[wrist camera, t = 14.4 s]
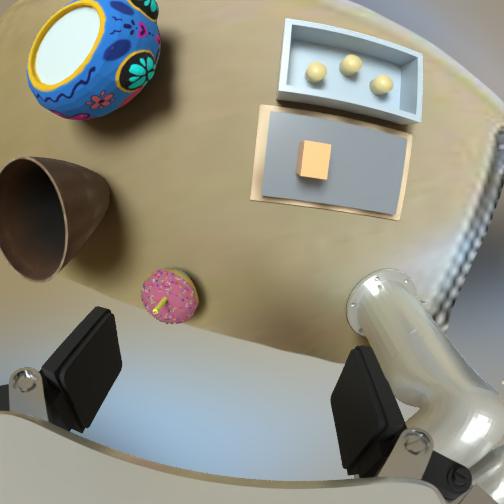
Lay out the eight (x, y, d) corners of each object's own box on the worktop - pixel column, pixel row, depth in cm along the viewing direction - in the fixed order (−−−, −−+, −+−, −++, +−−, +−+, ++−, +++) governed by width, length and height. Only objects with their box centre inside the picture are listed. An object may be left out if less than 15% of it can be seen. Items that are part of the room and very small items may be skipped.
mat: (411, 134, 34) (412, 134, 33) (398, 219, 38) (399, 220, 38) (260, 104, 34) (260, 104, 33) (250, 199, 38) (250, 199, 38)
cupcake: (155, 251, 42) (120, 287, 30) (208, 265, 42) (189, 307, 31) (150, 299, 45) (121, 342, 33) (199, 312, 45) (182, 361, 34)
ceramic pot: (177, 112, 34) (129, 94, 20) (74, 132, 35) (7, 135, 21) (179, 8, 28) (143, -42, 14) (79, 37, 29) (22, 14, 15)
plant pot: (55, 228, 41) (-7, 262, 26) (64, 143, 36) (-8, 151, 21) (124, 251, 42) (68, 300, 27) (139, 156, 37) (73, 166, 22)
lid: (402, 138, 34) (425, 138, 28) (391, 212, 38) (411, 224, 31) (270, 112, 34) (271, 104, 28) (261, 193, 38) (260, 202, 31)
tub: (403, 64, 30) (422, 54, 24) (400, 124, 33) (420, 122, 28) (282, 35, 30) (285, 18, 24) (276, 99, 33) (278, 90, 28)
